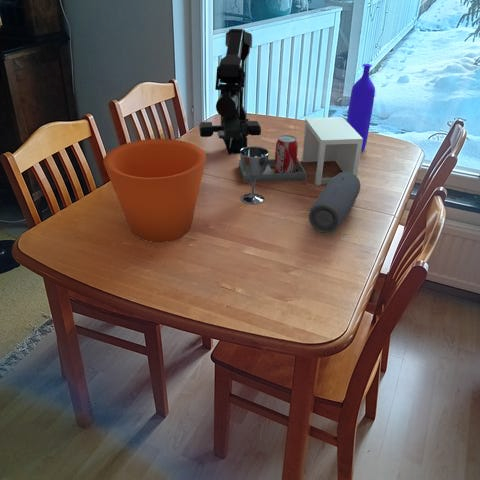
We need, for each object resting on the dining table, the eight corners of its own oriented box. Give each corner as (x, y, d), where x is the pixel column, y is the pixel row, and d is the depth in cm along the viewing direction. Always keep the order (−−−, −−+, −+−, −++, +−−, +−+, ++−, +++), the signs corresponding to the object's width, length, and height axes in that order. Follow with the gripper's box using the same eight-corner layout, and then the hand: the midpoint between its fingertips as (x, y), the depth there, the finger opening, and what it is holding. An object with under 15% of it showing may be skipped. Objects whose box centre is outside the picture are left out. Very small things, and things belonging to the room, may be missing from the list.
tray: (244, 182, 152) (244, 175, 150) (239, 166, 161) (239, 160, 160) (305, 180, 154) (306, 172, 153) (296, 164, 164) (297, 157, 163)
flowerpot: (187, 259, 116) (184, 186, 105) (95, 242, 121) (83, 171, 110) (219, 211, 136) (219, 145, 125) (139, 198, 141) (132, 134, 130)
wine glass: (269, 195, 145) (271, 148, 136) (261, 207, 138) (263, 159, 130) (244, 190, 147) (245, 144, 139) (235, 202, 140) (236, 154, 132)
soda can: (296, 177, 155) (299, 142, 149) (274, 177, 155) (276, 142, 149) (294, 168, 161) (297, 134, 155) (273, 168, 161) (275, 134, 155)
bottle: (367, 146, 179) (382, 63, 163) (362, 153, 173) (377, 68, 157) (346, 142, 182) (358, 60, 166) (340, 149, 176) (352, 65, 160)
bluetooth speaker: (328, 197, 145) (333, 166, 139) (359, 203, 141) (364, 173, 136) (304, 232, 127) (308, 199, 122) (338, 241, 124) (343, 207, 119)
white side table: (316, 185, 151) (321, 140, 143) (301, 159, 168) (305, 118, 159) (355, 183, 153) (363, 138, 144) (336, 158, 169) (342, 117, 161)
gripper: (200, 115, 136) (202, 166, 144) (265, 114, 138) (262, 163, 147) (198, 103, 145) (199, 151, 154) (258, 102, 147) (256, 149, 156)
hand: (229, 154), depth 152 cm, fingers closed
